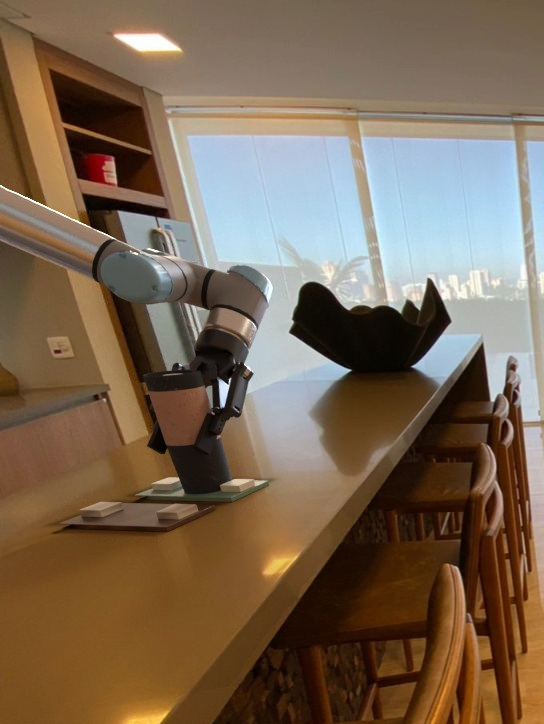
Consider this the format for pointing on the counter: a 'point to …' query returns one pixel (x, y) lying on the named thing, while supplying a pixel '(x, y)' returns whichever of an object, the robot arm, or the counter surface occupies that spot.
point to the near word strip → (136, 516)
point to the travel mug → (187, 429)
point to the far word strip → (228, 493)
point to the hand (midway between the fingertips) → (178, 450)
